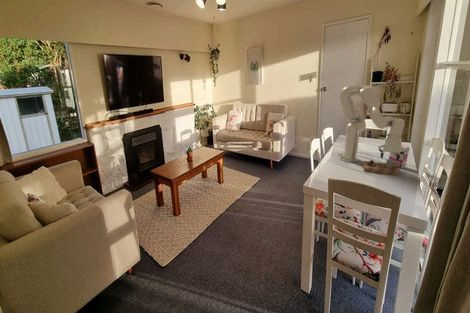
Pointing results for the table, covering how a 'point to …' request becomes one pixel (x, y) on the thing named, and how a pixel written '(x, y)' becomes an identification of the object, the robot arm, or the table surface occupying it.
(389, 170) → the socket board
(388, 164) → the plug
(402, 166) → the candy bar box
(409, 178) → the table surface
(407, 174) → the table surface
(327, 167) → the table surface
